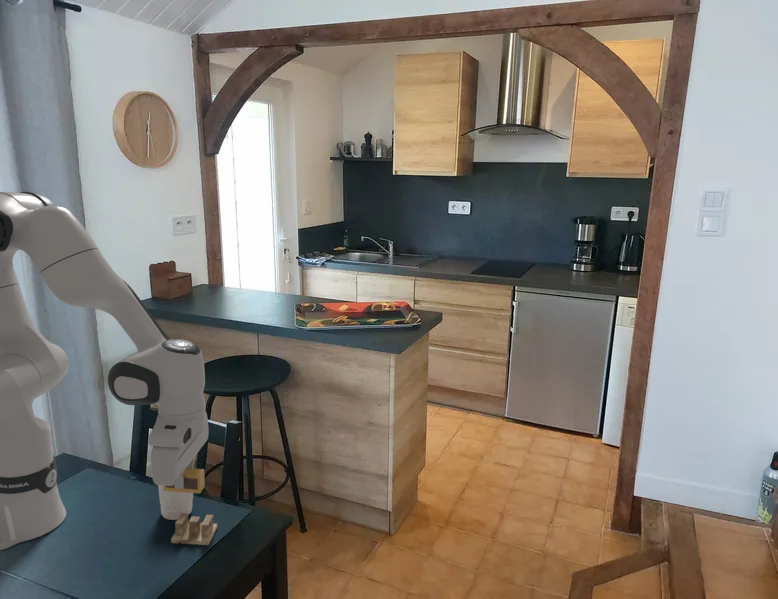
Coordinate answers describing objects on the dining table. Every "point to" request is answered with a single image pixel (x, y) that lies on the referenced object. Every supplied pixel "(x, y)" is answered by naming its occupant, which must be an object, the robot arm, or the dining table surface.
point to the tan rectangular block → (190, 482)
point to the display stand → (194, 530)
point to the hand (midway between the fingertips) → (184, 481)
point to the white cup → (174, 503)
